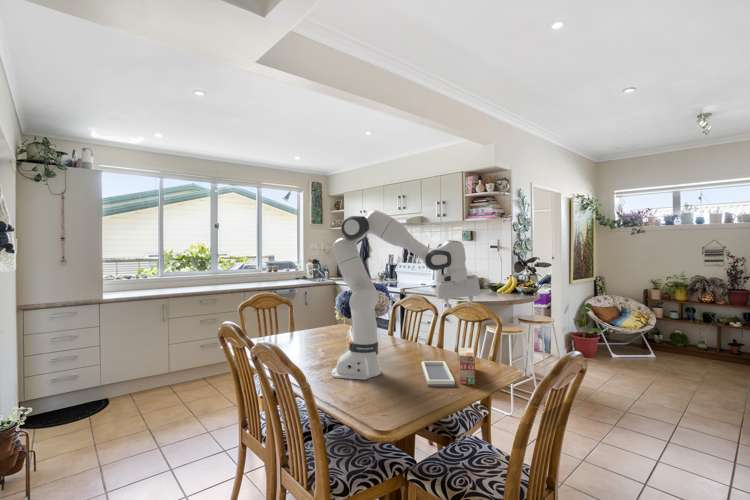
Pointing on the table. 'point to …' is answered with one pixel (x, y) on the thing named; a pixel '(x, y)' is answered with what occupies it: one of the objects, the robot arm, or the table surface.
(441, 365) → the base plate
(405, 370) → the table surface
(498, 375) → the table surface
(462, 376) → the printed food box
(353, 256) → the robot arm
